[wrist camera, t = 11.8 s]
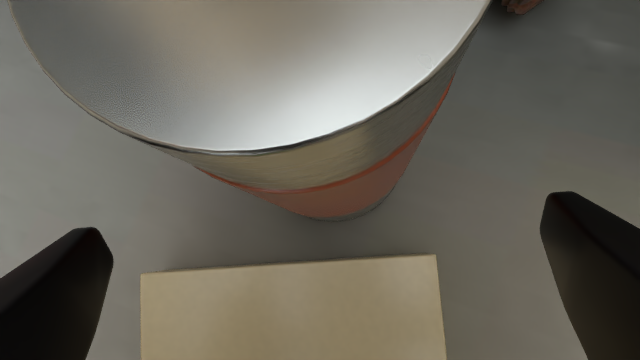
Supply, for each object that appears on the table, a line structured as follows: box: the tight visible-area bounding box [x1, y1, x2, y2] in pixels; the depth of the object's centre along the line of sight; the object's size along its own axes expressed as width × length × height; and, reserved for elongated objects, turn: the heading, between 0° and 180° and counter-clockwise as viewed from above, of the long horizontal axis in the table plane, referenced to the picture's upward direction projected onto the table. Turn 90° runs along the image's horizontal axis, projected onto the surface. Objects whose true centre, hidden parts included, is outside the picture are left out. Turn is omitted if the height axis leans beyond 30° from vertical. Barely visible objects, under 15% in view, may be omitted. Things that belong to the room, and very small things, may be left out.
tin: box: [7, 0, 493, 222], centre depth 12 cm, size 6×6×14 cm
